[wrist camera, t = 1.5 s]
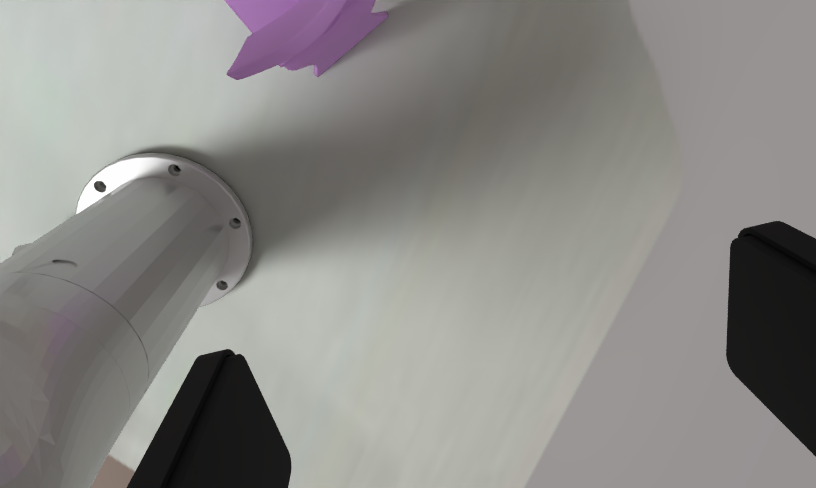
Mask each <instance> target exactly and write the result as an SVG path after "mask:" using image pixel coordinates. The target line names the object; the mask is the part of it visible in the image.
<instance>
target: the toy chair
mask: <svg viewBox="0 0 816 488" xmlns="http://www.w3.org/2000/svg"><path fill="white" fill-rule="evenodd" d="M225 1H226V3H227V4H228V5H229V6H230V7H231V8H232V10H233V11H234V12H235V13H236V14H237V16H238V17H239V18H240V19H241V20H242V21H243V23H244V24H245V25H246V26H247V27H248V29H249V30H250V31H251V32H252V35H250V36H249V37H247V39H246V41H245V43H244V45H243V47H242V49H241V51H240V52H239V54H238V56H237V58H236V60H235V61H234V63H233V65H232V66H231V68H230V69H229V70H228V72H227V75H228V76H230V77H232V78H234V79H236V80H239V79H243V78H246V77H249V76H251V75H254V74H257V73H259V72H262V71H264V70H267V69H269V68H271V67H274V66H276V65H279V66H280V67H283V66H284V67H286V68H287V69H288V70H292V71H293V70H298V69H301V68H303V67H306V66H309V65H314V66H315V69H314V74H315V75H316V76H317V77H318V76H320V75H321V74H322V73H323V72H324V71H326V70H327V69H328V68H329V67H330V66H331V65H333V64H334V63H335V62H336V61H337V60H338V59H340V58H341V57H342V56H343V55H344V54H345V53H346V52H348V51H349V50H350V49H351V48H352V47H353V46H355V45H356V44H357V43H358V42H359V41H360V40H361V39H363V38H364V37H365V36H366V35H367V34H368V33H370V32H371V31H372V30H373V29H374V28H375V27H377V26H378V25H379V24H380V23H381V22H382V21H383V20H385V19H386V18H387V17H388V14H387V13H386V12H385V11H384V12H379V13H371V10H372V7H373V5H374V2H375V0H225Z"/></svg>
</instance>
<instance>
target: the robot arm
mask: <svg viewBox="0 0 816 488" xmlns="http://www.w3.org/2000/svg"><path fill="white" fill-rule="evenodd" d="M176 165H177V166H179V168H180V169H181V170H178V169H177V168H176ZM103 182H104V183H105V184H106V185H105V184H104V183H103ZM235 218H237V219H239V220H240V222H237V221H236V220H235ZM252 244H253V239H252V229H251V225H250V222H249V218H248V215H247V213H246V211H245V209H244V207H243V205H242V203H241V201H240V199H239V198H238V197H237V196H236V194H235V193H234V192H233V191H232V189H231V188H230V187H229V186H228V185H227V184H226V183H225V182H224V181H223V180H222V179H221V178H219V177H218V176H217V175H216V174H214V173H213V172H211V171H210V170H208V169H207V168H205V167H204V166H202V165H200V164H198V163H195V162H193V161H191V160H188V159H186V158H183V157H179V156H175V155H171V154H164V153H142V154H134V155H131V156H128V157H125V158H121V159H118V160H117V161H115V162H113V163H111V164H109V165H107V166H105V167H104V168H103V169H101V170H100V171H99V172H97V173H96V174H95V175H94V176H93V177H92V178H91V179H90V180H89V182H88V183H87V184H86V185H85V187H84V189H83V191H82V193H81V195H80V197H79V199H78V203H77V209H76V214H75V215H74V216H73V217H71V218H70V219H68V220H66V221H65V222H63V223H62V224H60V225H59V226H57V227H56V228H54V229H53V230H51V231H50V232H48V233H46V234H45V235H43V236H42V237H40V238H39V239H37V240H36V241H34V242H33V243H30V244H25V245H20V246H18V247H16V248H15V249H14V251H13V253H12V256H11V257H9V258H8V259H6V260H5V261H3V262H2V263H0V488H91V486H92V484H93V482H94V480H95V478H96V476H97V474H98V472H99V470H100V468H101V466H102V464H103V463H104V461H105V459H106V457H107V455H108V453H109V452H110V450H111V448H112V447H113V445H114V443H115V442H116V440H117V438H118V436H119V435H120V433H121V431H122V430H123V428H124V426H125V425H126V423H127V422H128V420H129V418H130V417H131V415H132V413H133V412H134V410H135V409H136V407H137V405H138V404H139V402H140V401H141V399H142V397H143V396H144V394H145V393H146V391H147V389H148V388H149V386H150V385H151V383H152V381H153V380H154V378H155V377H156V375H157V373H158V372H159V370H160V369H161V367H162V365H163V364H164V362H165V361H166V359H167V357H168V356H169V354H170V353H171V351H172V349H173V348H174V346H175V344H176V343H177V341H178V340H179V338H180V336H181V335H182V333H183V332H184V330H185V328H186V327H187V325H188V324H189V322H190V320H191V319H192V317H193V316H194V314H195V312H196V311H197V309H198V308H199V307H201V306H204V305H208V304H211V303H212V302H214V301H216V300H218V299H220V298H222V297H223V296H225V295H226V294H227V293H228V292H230V291H231V290H232V289H233V288H234V287H235V286H236V284H237V283H238V282H239V281H240V279H241V278H242V276H243V274H244V272H245V270H246V269H247V266H248V263H249V260H250V258H251V253H252ZM224 281H225V282H224ZM726 351H727V352H726V356H727V361H728V364H729V367H730V369H731V370H732V372H733V373H734V374H735V376H736V377H737V378H739V380H740V381H741V382H742V383H743V384H744V385H745V386H746V387H747V388H748V389H749V390H751V392H752V393H753V394H754V395H755V396H756V397H757V398H758V399H759V400H760V401H761V402H762V403H763V404H764V405H765V406H766V407H767V408H768V409H769V410H770V411H771V412H772V413H773V414H774V415H775V416H776V417H777V418H778V419H779V420H780V421H781V422H782V423H783V424H784V425H785V426H786V427H787V428H788V429H789V430H790V431H791V432H792V433H793V434H794V435H795V436H796V437H797V438H798V439H799V440H800V441H801V442H802V443H803V444H804V445H805V446H806V447H807V448H808V449H809V450H810V451H811V452H812V453H813V454H814V455H815V456H816V239H815V238H813V237H811V236H809V235H807V234H805V233H803V232H801V231H799V230H797V229H795V228H794V227H791V226H790V225H788V224H785V223H783V222H780V221H774V222H770V223H765V224H761V225H757V226H753V227H749V228H744V229H743V230H741V231H740V233H739V235H738V238H736V239H734V240H733V241H732V243H731V247H730V270H729V297H728V323H727V349H726ZM290 475H291V458H290V454H289V451H288V449H287V447H286V445H285V443H284V440H283V438H282V436H281V434H280V432H279V430H278V428H277V425H276V423H275V421H274V419H273V417H272V415H271V413H270V411H269V408H268V406H267V404H266V402H265V400H264V398H263V396H262V393H261V391H260V389H259V387H258V385H257V383H256V381H255V379H254V376H253V374H252V372H251V370H250V368H249V366H248V364H247V361H246V360H245V358H244V356H242V355H241V354H237V355H235V354H234V352H233V351H232V350H229V349H226V350H222V351H217V352H213V353H209V354H204V355H201V356H198V357H197V359H196V360H195V362H194V364H193V366H192V367H191V369H190V371H189V373H188V375H187V377H186V379H185V380H184V382H183V384H182V386H181V388H180V390H179V392H178V393H177V395H176V397H175V399H174V401H173V403H172V405H171V406H170V408H169V410H168V412H167V414H166V416H165V418H164V419H163V421H162V423H161V425H160V427H159V429H158V431H157V432H156V434H155V436H154V438H153V440H152V442H151V444H150V445H149V447H148V449H147V451H146V453H145V455H144V457H143V458H142V460H141V462H140V464H139V466H138V468H137V470H136V471H135V473H134V475H133V477H132V479H131V481H130V483H129V484H128V487H127V488H288V485H289V480H290Z"/></svg>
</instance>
